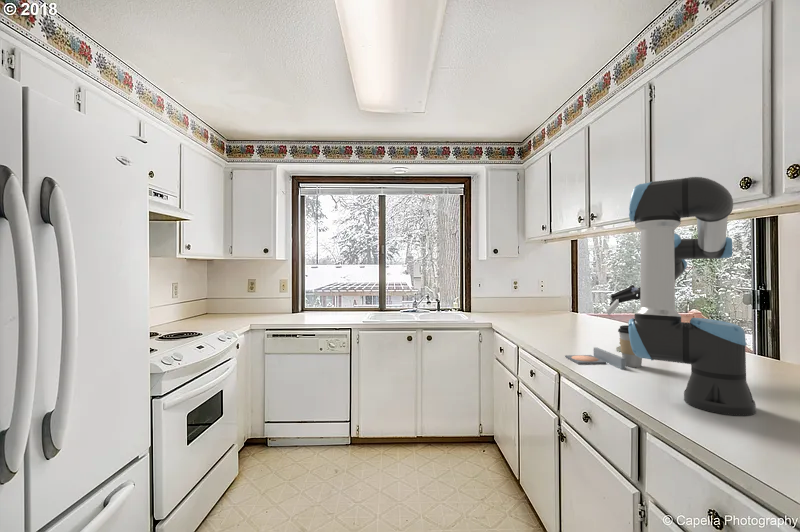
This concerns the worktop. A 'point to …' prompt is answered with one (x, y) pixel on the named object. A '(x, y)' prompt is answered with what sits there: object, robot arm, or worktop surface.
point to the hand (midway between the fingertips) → (626, 318)
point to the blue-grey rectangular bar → (609, 358)
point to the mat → (585, 359)
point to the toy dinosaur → (618, 348)
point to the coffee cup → (628, 348)
